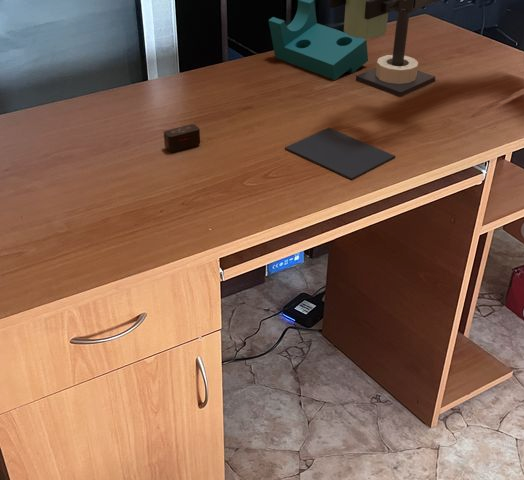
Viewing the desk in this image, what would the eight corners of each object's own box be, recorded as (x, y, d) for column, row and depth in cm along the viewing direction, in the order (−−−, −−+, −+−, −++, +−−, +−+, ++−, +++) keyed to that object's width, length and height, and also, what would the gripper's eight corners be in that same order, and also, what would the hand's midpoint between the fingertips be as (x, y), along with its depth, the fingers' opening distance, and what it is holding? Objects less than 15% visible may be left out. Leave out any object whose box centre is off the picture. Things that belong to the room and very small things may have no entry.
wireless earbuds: (205, 144, 144) (204, 128, 142) (170, 154, 141) (169, 137, 139) (193, 135, 147) (192, 118, 145) (159, 144, 144) (157, 127, 142)
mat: (395, 157, 141) (395, 155, 141) (351, 180, 134) (351, 178, 134) (328, 129, 149) (328, 127, 149) (284, 149, 143) (284, 147, 143)
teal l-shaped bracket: (276, 63, 178) (268, 20, 170) (308, 39, 182) (302, -4, 174) (335, 86, 169) (330, 41, 161) (368, 60, 172) (364, 16, 164)
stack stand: (435, 81, 168) (446, 7, 158) (400, 96, 161) (409, 21, 151) (390, 65, 174) (399, -6, 164) (355, 80, 168) (362, 7, 158)
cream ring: (423, 76, 167) (425, 62, 165) (399, 87, 162) (401, 72, 160) (392, 65, 171) (394, 51, 169) (368, 75, 167) (369, 61, 165)
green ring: (394, 31, 137) (400, -24, 131) (367, 41, 133) (372, -15, 127) (362, 21, 141) (367, -33, 135) (335, 30, 137) (339, -25, 131)
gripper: (474, 12, 140) (393, 43, 128) (386, -13, 151) (304, 13, 139) (482, -33, 135) (398, -6, 123) (391, -56, 146) (305, -32, 134)
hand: (348, 4), depth 131 cm, fingers closed on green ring, 7 cm apart
